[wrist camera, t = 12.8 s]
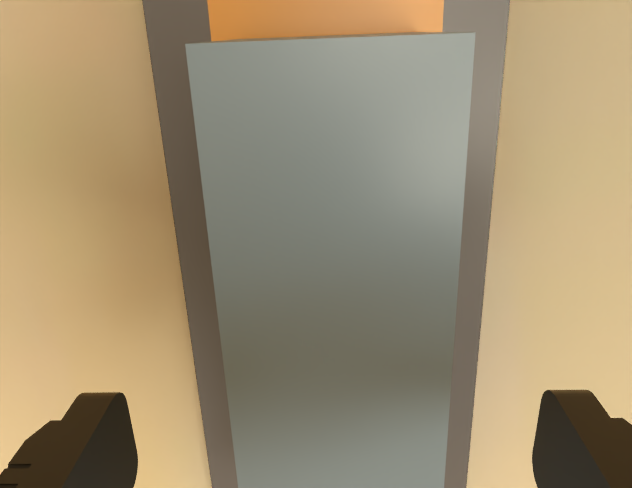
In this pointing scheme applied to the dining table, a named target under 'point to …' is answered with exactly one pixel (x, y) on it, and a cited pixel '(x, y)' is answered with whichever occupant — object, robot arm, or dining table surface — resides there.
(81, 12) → the dining table surface
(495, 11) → the board
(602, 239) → the dining table surface
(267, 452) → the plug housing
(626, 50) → the dining table surface
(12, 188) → the dining table surface
